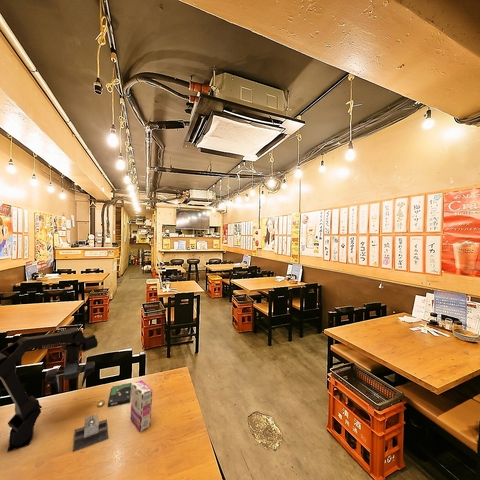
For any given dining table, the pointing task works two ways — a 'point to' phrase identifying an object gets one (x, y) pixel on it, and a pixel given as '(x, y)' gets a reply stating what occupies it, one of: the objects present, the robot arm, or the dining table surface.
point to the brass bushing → (100, 403)
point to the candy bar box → (141, 405)
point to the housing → (91, 425)
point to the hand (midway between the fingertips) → (70, 389)
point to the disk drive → (120, 395)
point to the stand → (90, 440)
